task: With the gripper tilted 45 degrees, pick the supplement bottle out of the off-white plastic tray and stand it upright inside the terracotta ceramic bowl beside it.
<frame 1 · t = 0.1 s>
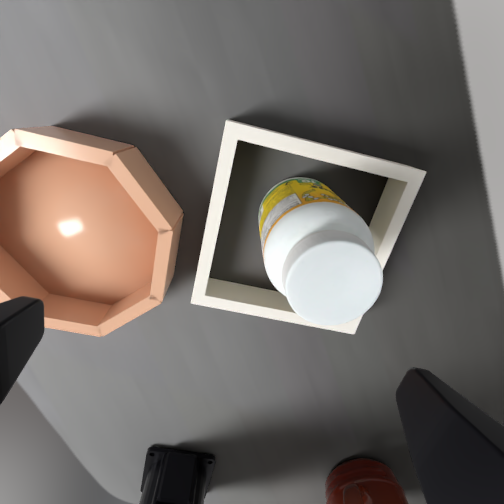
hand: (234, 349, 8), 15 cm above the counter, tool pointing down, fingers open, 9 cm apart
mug: (352, 465, 33), on the counter
supplement bottle: (297, 214, 22), resting in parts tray
bowl: (90, 227, 22), on the counter
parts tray: (293, 229, 22), on the counter
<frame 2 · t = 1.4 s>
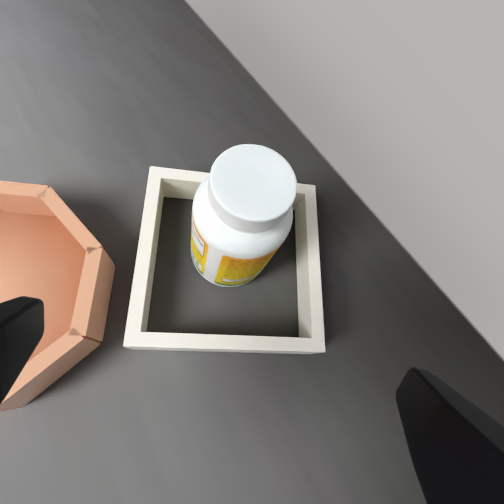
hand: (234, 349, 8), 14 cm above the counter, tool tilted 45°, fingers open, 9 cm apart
supplement bottle: (228, 253, 23), resting in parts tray
bowl: (4, 297, 20), on the counter
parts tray: (228, 266, 23), on the counter
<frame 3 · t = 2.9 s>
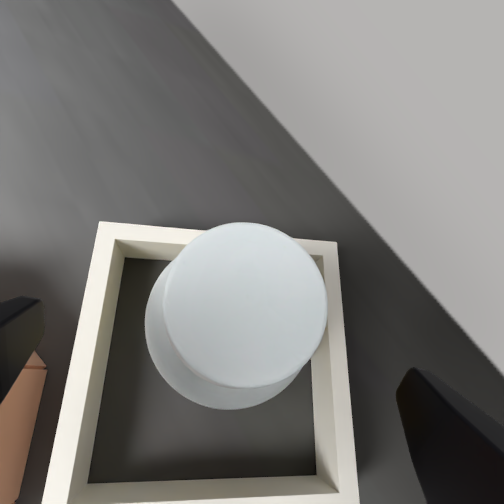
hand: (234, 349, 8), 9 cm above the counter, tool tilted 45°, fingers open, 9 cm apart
supplement bottle: (215, 339, 17), resting in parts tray
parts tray: (214, 359, 16), on the counter
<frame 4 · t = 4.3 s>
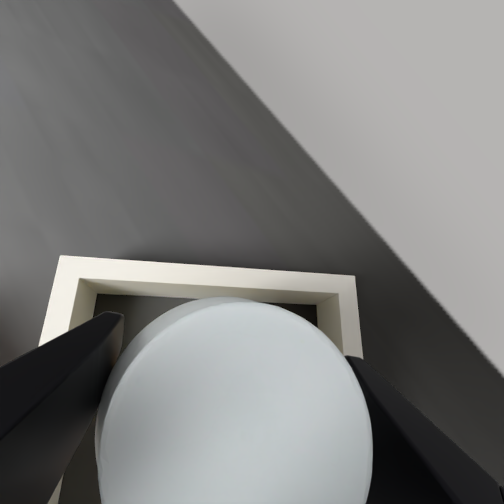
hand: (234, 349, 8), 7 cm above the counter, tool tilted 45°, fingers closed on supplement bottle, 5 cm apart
supplement bottle: (207, 394, 14), resting in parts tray, touching gripper
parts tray: (205, 421, 13), on the counter
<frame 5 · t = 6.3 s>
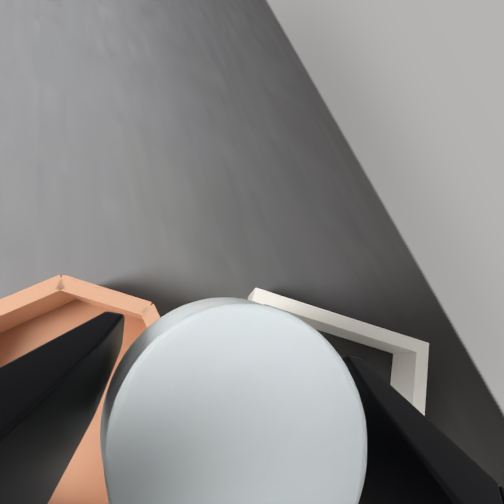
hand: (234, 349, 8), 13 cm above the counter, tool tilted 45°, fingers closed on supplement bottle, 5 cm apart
supplement bottle: (208, 392, 14), point 6 cm above the counter, touching gripper
bowl: (76, 402, 18), on the counter
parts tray: (311, 411, 20), on the counter
when the fingers open (9 cm above the counter, at t = 8.4 s): supplement bottle stays where it is, resting on bowl.
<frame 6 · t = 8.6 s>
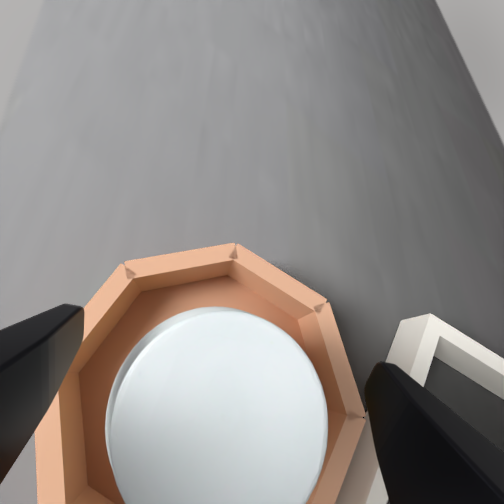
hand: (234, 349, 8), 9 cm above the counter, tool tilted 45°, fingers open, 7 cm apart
supplement bottle: (205, 396, 15), point 1 cm above the counter, touching bowl
bowl: (205, 390, 16), on the counter
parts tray: (462, 480, 16), on the counter
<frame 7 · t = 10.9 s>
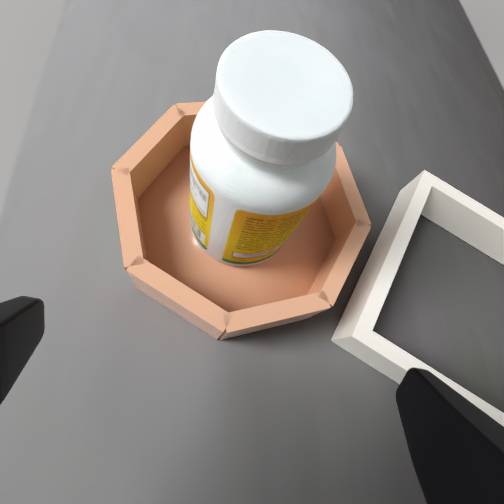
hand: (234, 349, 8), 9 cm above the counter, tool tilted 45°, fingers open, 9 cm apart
supplement bottle: (239, 224, 18), point 1 cm above the counter, touching bowl
bowl: (237, 227, 19), on the counter
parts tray: (451, 308, 20), on the counter
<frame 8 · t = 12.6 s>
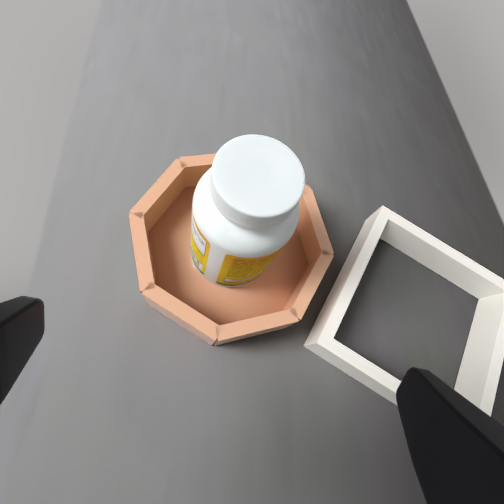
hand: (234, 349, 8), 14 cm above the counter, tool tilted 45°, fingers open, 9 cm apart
supplement bottle: (229, 252, 22), point 1 cm above the counter, touching bowl
bowl: (229, 253, 23), on the counter
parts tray: (404, 319, 24), on the counter
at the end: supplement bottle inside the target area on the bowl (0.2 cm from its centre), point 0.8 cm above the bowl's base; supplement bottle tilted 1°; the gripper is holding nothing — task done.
